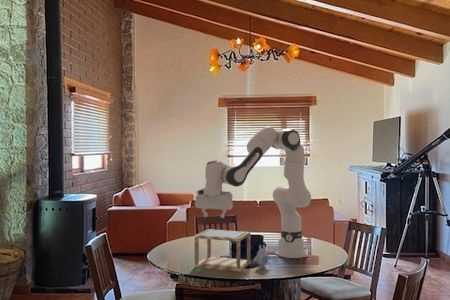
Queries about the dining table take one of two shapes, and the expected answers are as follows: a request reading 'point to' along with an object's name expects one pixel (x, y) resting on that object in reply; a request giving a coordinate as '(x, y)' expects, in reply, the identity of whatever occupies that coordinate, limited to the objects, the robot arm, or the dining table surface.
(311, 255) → the dining table surface
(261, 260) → the toy figure
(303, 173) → the robot arm
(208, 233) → the trapdoor
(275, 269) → the dining table surface
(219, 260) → the frame
